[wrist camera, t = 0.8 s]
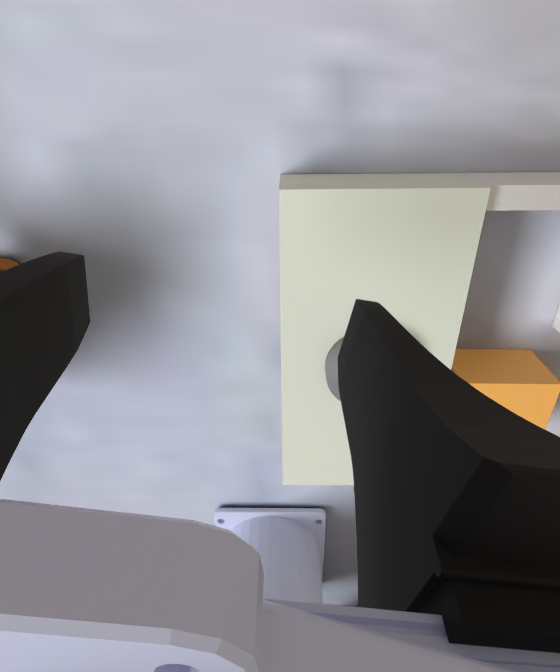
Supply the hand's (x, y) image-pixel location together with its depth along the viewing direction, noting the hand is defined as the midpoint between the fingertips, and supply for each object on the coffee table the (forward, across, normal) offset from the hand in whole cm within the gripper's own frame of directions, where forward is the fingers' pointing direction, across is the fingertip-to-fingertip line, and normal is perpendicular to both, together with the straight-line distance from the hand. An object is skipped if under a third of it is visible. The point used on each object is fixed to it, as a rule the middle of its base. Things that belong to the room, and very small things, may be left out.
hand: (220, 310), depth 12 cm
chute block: (+10, -15, +9) cm, 20 cm away
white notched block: (+10, -11, +6) cm, 16 cm away
